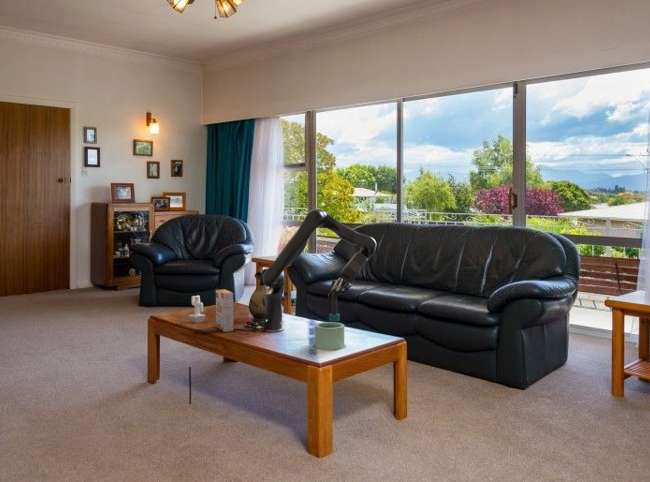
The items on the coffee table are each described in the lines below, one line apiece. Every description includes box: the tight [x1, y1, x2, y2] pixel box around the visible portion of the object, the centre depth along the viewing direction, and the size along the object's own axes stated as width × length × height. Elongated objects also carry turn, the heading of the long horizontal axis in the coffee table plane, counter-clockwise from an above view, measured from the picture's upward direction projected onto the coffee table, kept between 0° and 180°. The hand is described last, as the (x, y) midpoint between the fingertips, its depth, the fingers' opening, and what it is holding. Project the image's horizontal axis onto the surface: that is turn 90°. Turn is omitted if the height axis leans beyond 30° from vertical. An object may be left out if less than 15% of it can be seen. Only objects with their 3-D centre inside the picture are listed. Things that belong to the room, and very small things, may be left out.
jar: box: [314, 321, 345, 351], centre depth 269 cm, size 14×14×10 cm
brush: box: [328, 288, 341, 322], centre depth 270 cm, size 5×5×15 cm
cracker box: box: [215, 289, 234, 333], centre depth 304 cm, size 14×6×21 cm, turn 27°
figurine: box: [188, 295, 207, 323], centre depth 325 cm, size 7×9×15 cm
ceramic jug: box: [248, 267, 269, 321], centre depth 333 cm, size 17×15×30 cm
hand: (330, 298), depth 268 cm, fingers closed on brush, 2 cm apart
